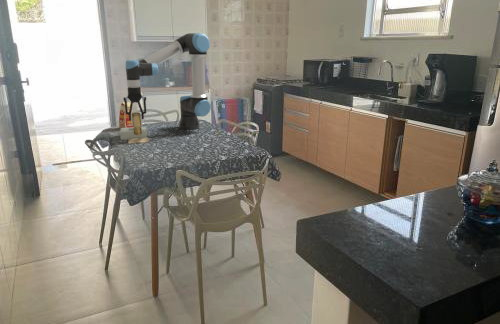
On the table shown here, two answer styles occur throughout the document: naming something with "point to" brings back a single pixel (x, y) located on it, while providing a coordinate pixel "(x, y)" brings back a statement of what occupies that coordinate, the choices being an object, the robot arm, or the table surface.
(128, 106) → the milk carton
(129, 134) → the housing
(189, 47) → the robot arm
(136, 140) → the pad
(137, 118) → the plug
